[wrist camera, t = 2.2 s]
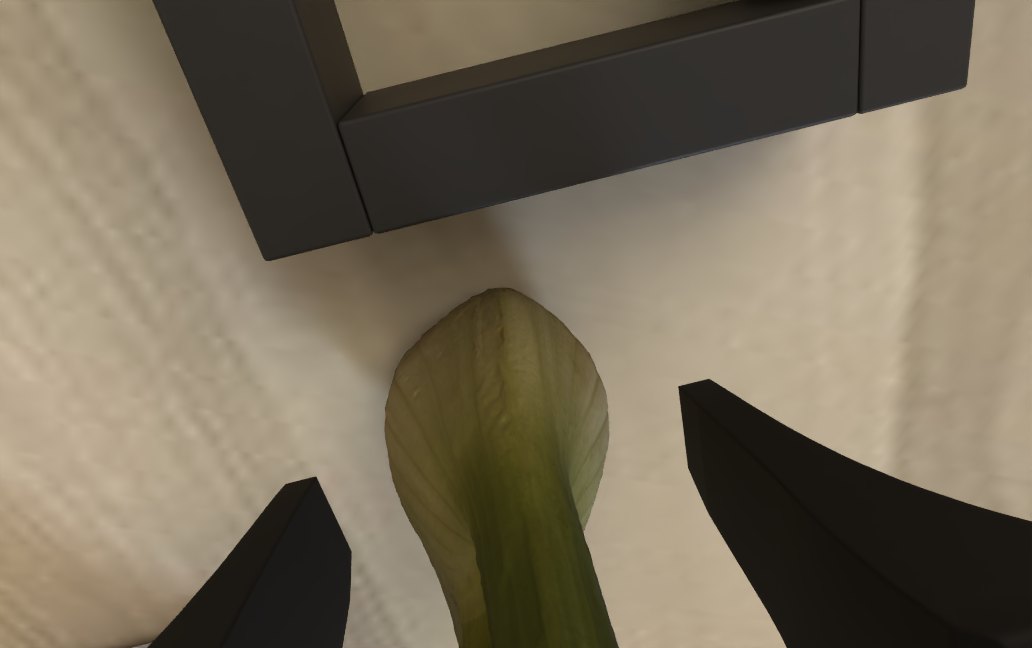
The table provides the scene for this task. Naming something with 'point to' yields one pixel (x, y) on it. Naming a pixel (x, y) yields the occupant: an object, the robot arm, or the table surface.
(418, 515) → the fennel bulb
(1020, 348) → the table surface
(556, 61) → the holder
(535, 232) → the table surface
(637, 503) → the table surface
